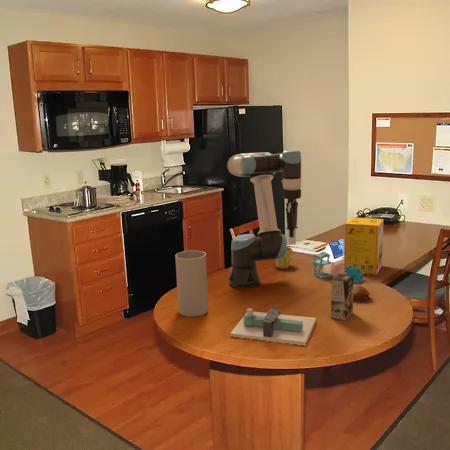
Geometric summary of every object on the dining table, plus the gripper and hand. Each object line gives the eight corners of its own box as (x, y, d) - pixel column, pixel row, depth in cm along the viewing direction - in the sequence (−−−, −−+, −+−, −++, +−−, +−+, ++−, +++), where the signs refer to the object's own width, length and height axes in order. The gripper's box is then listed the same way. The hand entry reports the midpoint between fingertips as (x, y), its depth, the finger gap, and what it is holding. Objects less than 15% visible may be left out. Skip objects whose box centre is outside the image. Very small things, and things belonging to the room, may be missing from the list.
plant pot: (293, 263, 275) (292, 246, 273) (292, 269, 266) (292, 251, 263) (273, 263, 277) (273, 246, 275) (272, 269, 267) (271, 251, 265)
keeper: (262, 336, 186) (261, 321, 184) (270, 322, 197) (270, 308, 196) (272, 337, 184) (272, 322, 183) (280, 323, 196) (280, 309, 194)
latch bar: (242, 326, 194) (241, 311, 193) (246, 320, 199) (245, 306, 197) (300, 333, 186) (300, 317, 185) (303, 327, 191) (303, 312, 190)
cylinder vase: (211, 306, 219) (209, 250, 214) (203, 318, 207) (201, 259, 202) (183, 305, 222) (180, 250, 216) (174, 316, 210) (171, 258, 204)
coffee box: (346, 320, 200) (346, 281, 197) (330, 317, 204) (330, 279, 200) (353, 312, 208) (354, 275, 204) (338, 309, 211) (338, 272, 207)
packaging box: (350, 262, 274) (351, 217, 268) (382, 265, 267) (383, 219, 261) (343, 271, 260) (344, 223, 254) (376, 274, 253) (378, 225, 247)
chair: (321, 272, 260) (321, 249, 258) (332, 275, 254) (333, 252, 251) (309, 275, 256) (309, 252, 254) (321, 279, 249) (321, 255, 247)
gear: (350, 283, 237) (343, 264, 242) (343, 289, 242) (336, 270, 247) (369, 282, 242) (361, 264, 247) (362, 288, 247) (354, 270, 252)
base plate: (230, 336, 189) (230, 333, 189) (247, 314, 210) (247, 311, 209) (305, 346, 180) (305, 342, 180) (316, 321, 200) (316, 318, 200)
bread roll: (357, 301, 230) (350, 284, 230) (376, 296, 222) (369, 279, 223) (345, 307, 223) (338, 290, 224) (364, 303, 215) (357, 285, 216)
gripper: (286, 185, 216) (286, 239, 222) (279, 190, 204) (279, 247, 210) (304, 186, 214) (304, 240, 219) (297, 191, 202) (297, 248, 207)
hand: (292, 243), depth 214 cm, fingers closed
